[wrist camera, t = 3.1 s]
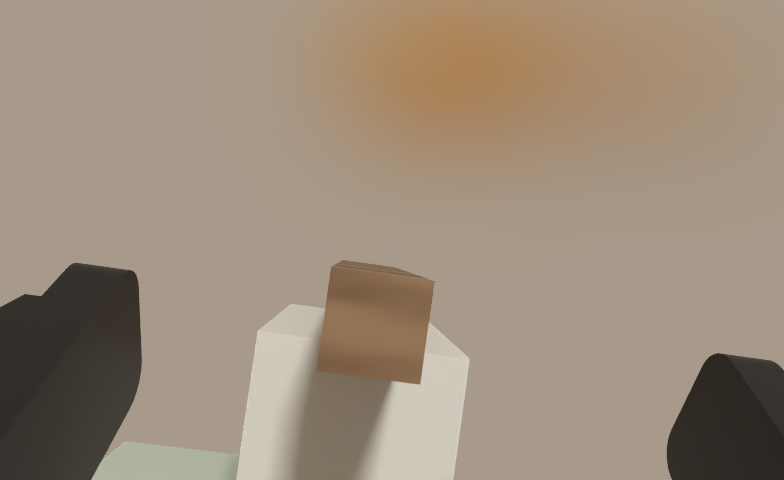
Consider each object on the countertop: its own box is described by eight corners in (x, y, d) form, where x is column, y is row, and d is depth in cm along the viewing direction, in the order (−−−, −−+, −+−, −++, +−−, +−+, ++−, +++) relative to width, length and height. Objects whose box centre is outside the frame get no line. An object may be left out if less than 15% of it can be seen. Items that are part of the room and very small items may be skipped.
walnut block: (420, 384, 22) (434, 281, 22) (316, 371, 22) (331, 267, 22) (386, 317, 46) (393, 267, 46) (335, 310, 45) (343, 260, 46)
